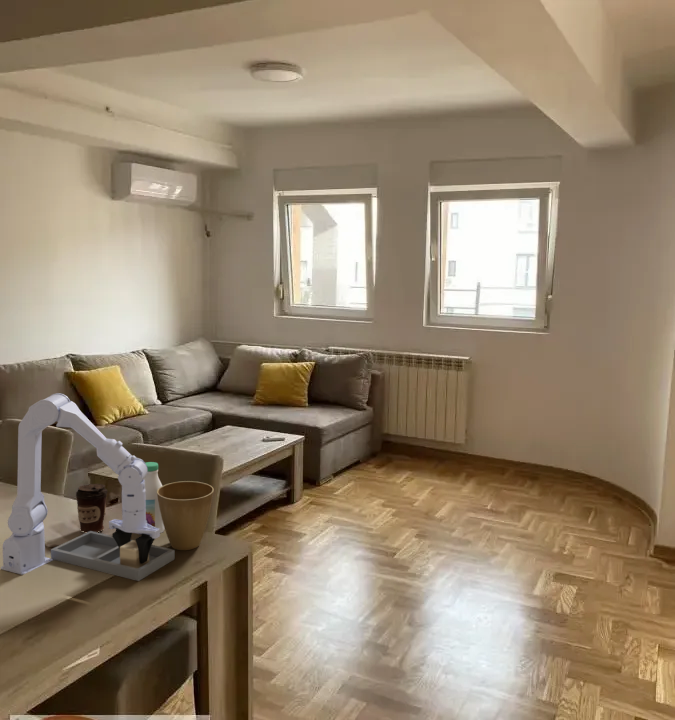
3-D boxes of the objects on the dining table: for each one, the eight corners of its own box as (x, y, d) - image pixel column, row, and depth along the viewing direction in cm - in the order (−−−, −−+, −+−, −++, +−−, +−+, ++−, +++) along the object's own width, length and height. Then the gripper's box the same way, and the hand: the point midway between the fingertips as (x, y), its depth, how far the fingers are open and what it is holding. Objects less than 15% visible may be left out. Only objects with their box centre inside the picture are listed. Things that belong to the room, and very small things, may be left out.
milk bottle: (153, 524, 205) (153, 458, 202) (170, 531, 200) (169, 463, 197) (131, 532, 199) (130, 463, 196) (147, 539, 194) (146, 469, 192)
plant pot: (145, 550, 187) (144, 492, 185) (182, 532, 200) (182, 478, 198) (189, 562, 180) (189, 502, 178) (224, 542, 193) (224, 486, 191)
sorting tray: (138, 582, 168) (138, 571, 168) (51, 560, 179) (50, 549, 179) (174, 560, 181) (174, 549, 180) (90, 541, 192) (90, 530, 191)
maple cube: (136, 569, 174) (135, 550, 173) (120, 565, 176) (119, 546, 175) (149, 562, 178) (148, 543, 178) (133, 558, 180) (133, 540, 180)
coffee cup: (101, 537, 195) (100, 492, 193) (71, 536, 195) (70, 491, 193) (112, 525, 204) (111, 482, 202) (83, 524, 204) (82, 481, 202)
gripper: (167, 508, 176) (168, 559, 178) (121, 499, 182) (122, 548, 183) (149, 517, 169) (150, 570, 171) (102, 507, 175) (103, 558, 177)
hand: (134, 559), depth 177 cm, fingers closed on maple cube, 5 cm apart
